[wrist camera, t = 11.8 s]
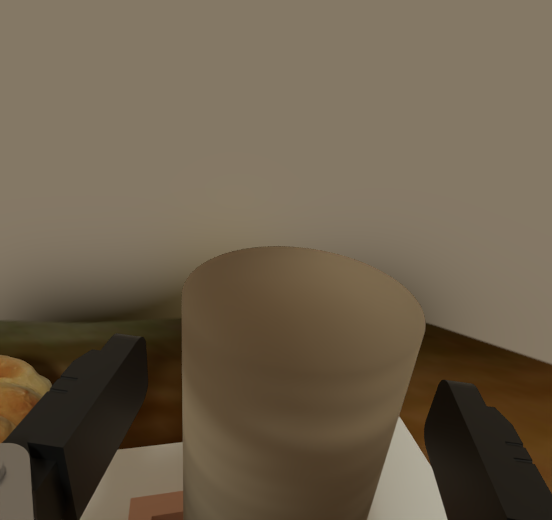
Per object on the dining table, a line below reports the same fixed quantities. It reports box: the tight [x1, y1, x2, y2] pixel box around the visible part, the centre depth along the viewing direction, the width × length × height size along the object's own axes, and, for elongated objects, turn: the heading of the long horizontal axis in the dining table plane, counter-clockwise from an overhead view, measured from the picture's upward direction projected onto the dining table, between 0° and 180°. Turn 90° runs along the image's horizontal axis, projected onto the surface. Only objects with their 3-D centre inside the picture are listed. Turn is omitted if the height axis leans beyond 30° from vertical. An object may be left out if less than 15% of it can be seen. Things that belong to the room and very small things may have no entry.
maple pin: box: [182, 246, 426, 520], centre depth 10 cm, size 4×4×12 cm
